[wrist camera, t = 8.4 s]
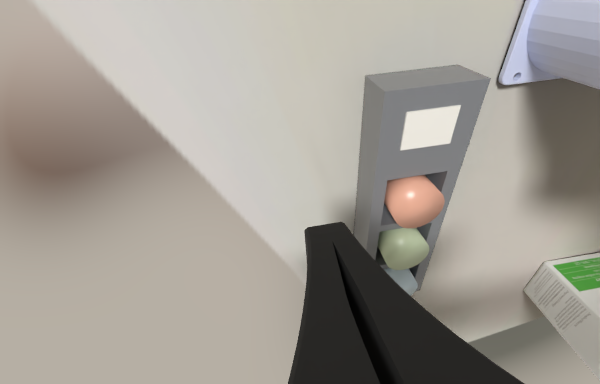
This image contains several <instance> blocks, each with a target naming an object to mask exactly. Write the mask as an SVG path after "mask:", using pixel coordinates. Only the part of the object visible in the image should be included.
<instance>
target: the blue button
mask: <svg viewBox="0 0 600 384" xmlns="http://www.w3.org/2000/svg"><path fill="white" fill-rule="evenodd" d="M384 271H385V272H386V273H387V274H388V275H389V276H390V277H391V278H392V279H393V280H394V281H395V282H396V283H397V284H398V285H399V286H400V287H401V288H402V289H404V290H405V291H406V292H407V293H408V294H409V295H410V296H411V295H412V294H413V293H414V292H415V291H416V289H417V287H418V284H417V282H416V280H415V278H414V276H413V275H412V273H411V271H410V269H405V270H393V269H391V268H387V269H384Z"/></svg>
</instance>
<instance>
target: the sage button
mask: <svg viewBox="0 0 600 384" xmlns="http://www.w3.org/2000/svg"><path fill="white" fill-rule="evenodd" d="M378 248H379V250H380V252H381V254H382V256H383V258H384V260H385V262H386V264H387V266H388V267H389V268H391V269H393V270H405V269H409V268H411V267H414V266H416V265H417V264H419V263H420V262H422V261H423V260H424V259H425V258H426V256H427V255H428V253H429V245H428V244H427V242H426V241H425V239H424V238H423V236H422V235H421V234H420V232H419V231H418V229H417V228H399V229H393V230H387V231H381V232H380V233H379V239H378Z"/></svg>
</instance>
